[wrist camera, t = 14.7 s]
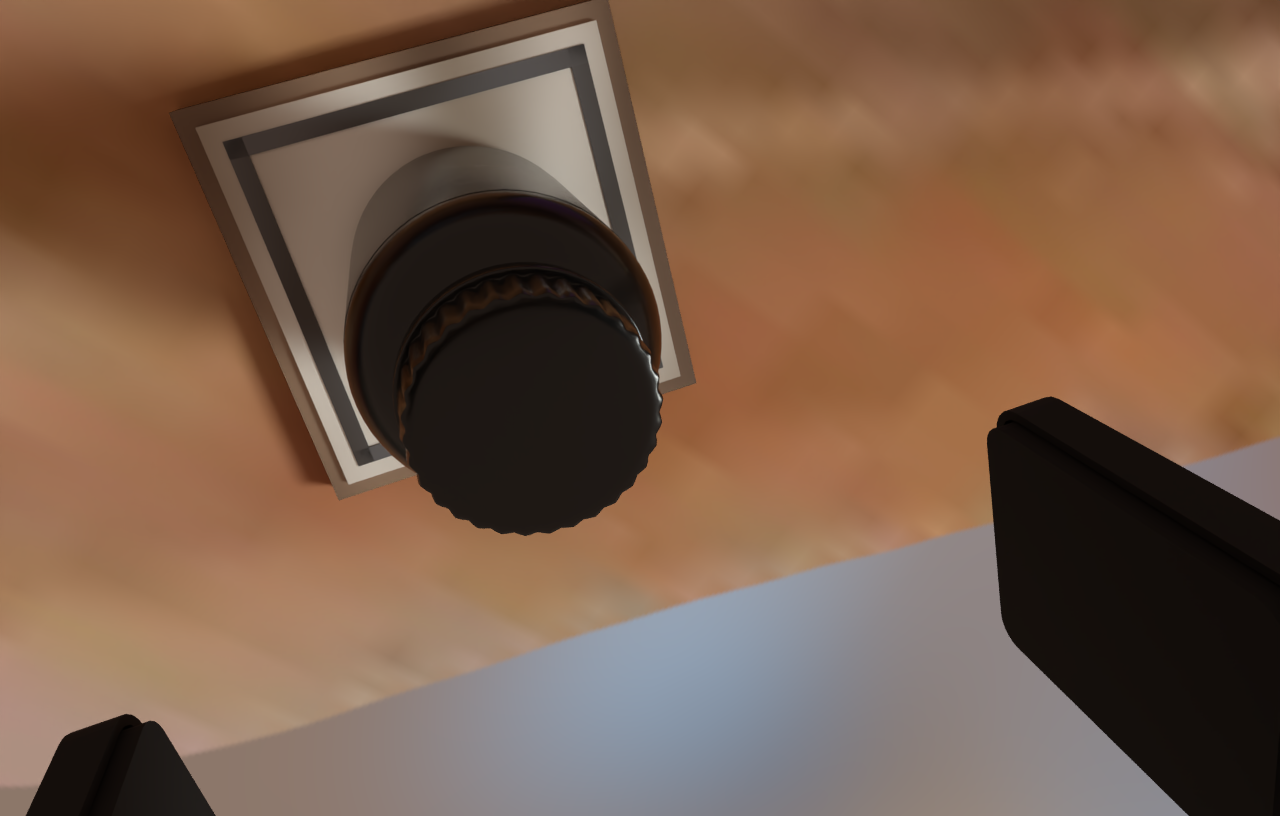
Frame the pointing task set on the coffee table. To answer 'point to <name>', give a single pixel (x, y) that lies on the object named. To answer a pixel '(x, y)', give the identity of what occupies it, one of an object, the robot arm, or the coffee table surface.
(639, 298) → the supplement bottle
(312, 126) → the white square tile
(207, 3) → the coffee table surface
